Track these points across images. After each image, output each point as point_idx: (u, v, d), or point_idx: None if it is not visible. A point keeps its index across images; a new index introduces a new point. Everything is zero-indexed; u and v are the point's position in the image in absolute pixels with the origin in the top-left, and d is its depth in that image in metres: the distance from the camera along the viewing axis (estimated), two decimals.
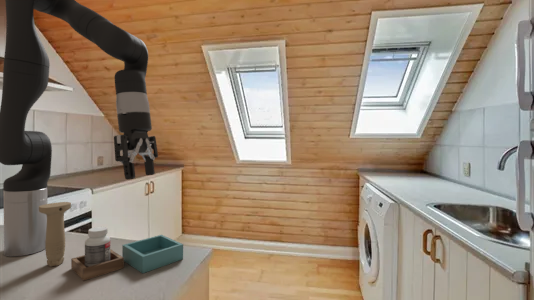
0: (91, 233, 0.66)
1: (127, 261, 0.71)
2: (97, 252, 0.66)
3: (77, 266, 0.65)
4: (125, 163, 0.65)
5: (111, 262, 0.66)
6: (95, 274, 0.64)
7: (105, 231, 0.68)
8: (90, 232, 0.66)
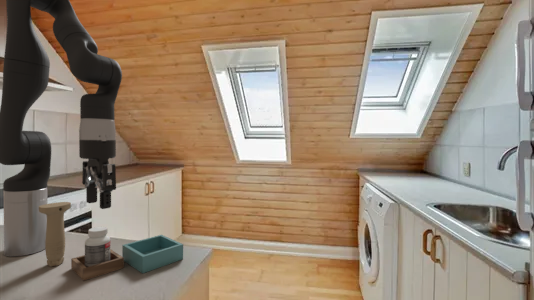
0: (91, 233, 0.66)
1: (127, 261, 0.71)
2: (97, 252, 0.66)
3: (77, 266, 0.65)
4: (107, 192, 0.64)
5: (111, 262, 0.66)
6: (95, 274, 0.64)
7: (105, 231, 0.68)
8: (90, 232, 0.66)
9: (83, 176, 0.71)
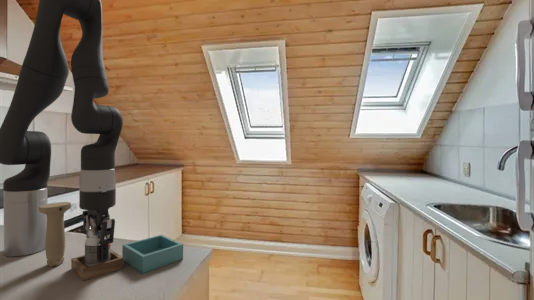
0: (91, 233, 0.66)
1: (127, 261, 0.71)
2: None
3: (77, 266, 0.65)
4: (104, 245, 0.65)
5: (111, 262, 0.66)
6: (95, 274, 0.64)
7: None
8: (90, 232, 0.66)
9: (84, 226, 0.70)
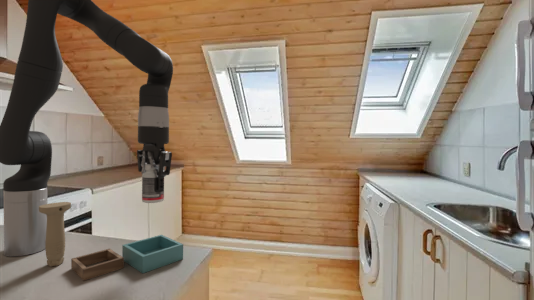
0: (148, 166, 0.71)
1: (127, 261, 0.71)
2: None
3: (77, 266, 0.65)
4: (161, 177, 0.70)
5: (111, 262, 0.66)
6: (95, 274, 0.64)
7: None
8: (147, 165, 0.71)
9: (139, 164, 0.75)
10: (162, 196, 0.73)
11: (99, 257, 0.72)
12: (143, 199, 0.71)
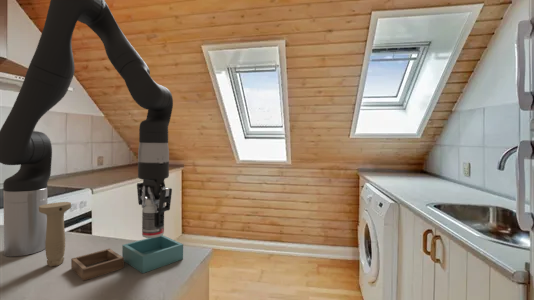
0: (149, 201, 0.71)
1: (127, 261, 0.71)
2: (154, 219, 0.71)
3: (77, 266, 0.65)
4: (161, 212, 0.71)
5: (111, 262, 0.66)
6: (95, 274, 0.64)
7: None
8: (148, 201, 0.71)
9: (139, 197, 0.76)
10: (162, 230, 0.73)
11: (99, 257, 0.72)
12: (143, 234, 0.71)
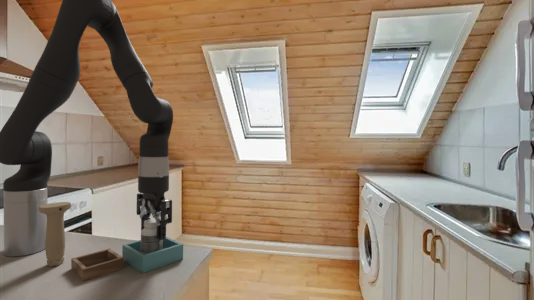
0: (147, 224, 0.71)
1: (127, 261, 0.71)
2: (152, 242, 0.71)
3: (77, 266, 0.65)
4: (163, 225, 0.70)
5: (111, 262, 0.66)
6: (95, 274, 0.64)
7: None
8: (146, 223, 0.72)
9: (137, 207, 0.76)
10: None
11: (99, 257, 0.72)
12: None
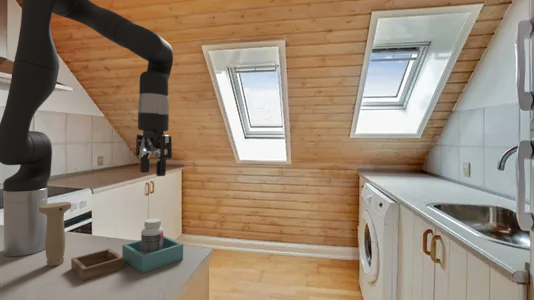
0: (147, 224, 0.72)
1: (127, 261, 0.71)
2: (153, 241, 0.71)
3: (77, 266, 0.65)
4: (163, 161, 0.70)
5: (111, 262, 0.66)
6: (95, 274, 0.64)
7: (159, 222, 0.73)
8: (147, 223, 0.72)
9: (137, 148, 0.77)
10: None
11: (99, 257, 0.72)
12: None
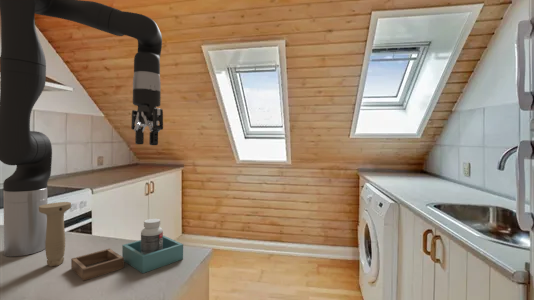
0: (147, 224, 0.72)
1: (127, 261, 0.71)
2: (152, 242, 0.71)
3: (77, 266, 0.65)
4: (155, 131, 0.79)
5: (111, 262, 0.66)
6: (95, 274, 0.64)
7: (159, 222, 0.73)
8: (146, 223, 0.72)
9: (132, 122, 0.85)
10: None
11: (99, 257, 0.72)
12: None
